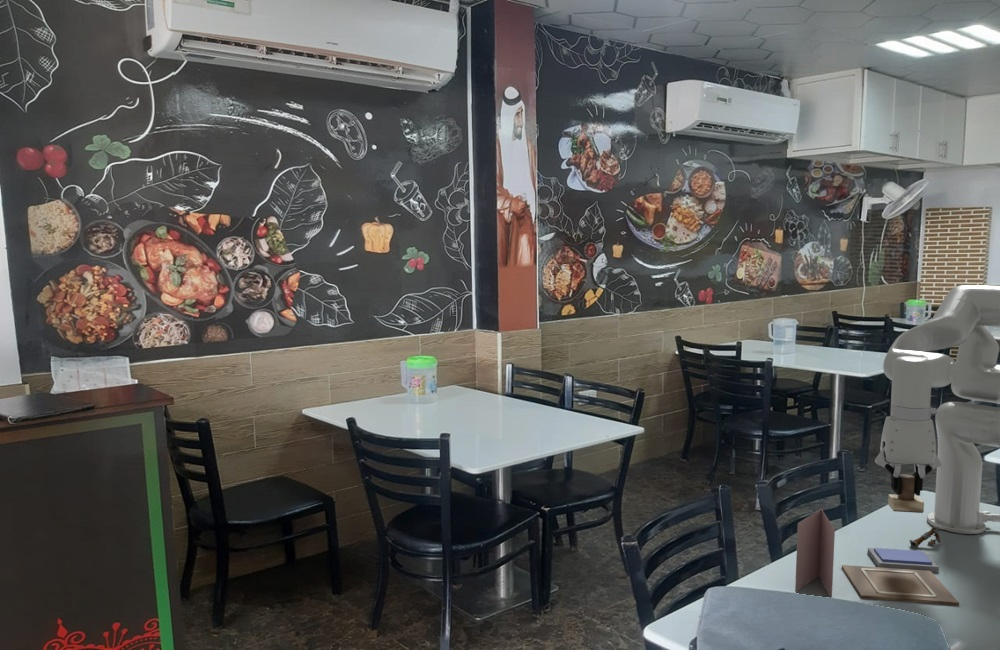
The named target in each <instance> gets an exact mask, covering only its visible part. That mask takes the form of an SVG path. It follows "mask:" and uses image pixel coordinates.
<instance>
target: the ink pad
mask: <svg viewBox="0 0 1000 650" xmlns="http://www.w3.org/2000/svg"><path fill="white" fill-rule="evenodd" d="M867 554H868V556H869V557H870V559H872V561H873V562H874V563H875V565H876V566H877V567H880V568H895V569H910V570H925V571H931V572H932V573H939V571H940V570H939V569H940V567H939V565H938V564H937V563H936V562H935V561H934V560H933V559H932V558H931V557H930V556H929V555H928V554H927V553H926V552H925V551H923V550H911V549H897V548H896V549H895V548H880V547H874V548H873V547H867Z"/></svg>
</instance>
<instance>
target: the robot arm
mask: <svg viewBox="0 0 1000 650" xmlns="http://www.w3.org/2000/svg"><path fill="white" fill-rule="evenodd" d="M986 327H996V328H997V327H998V328H1000V285H977V284H976V285H975V284H972V285H971V284H964V285H958V286H955V287H953V288H952V289H950V290H949V291H948V292H947V294H946V295H945V297H944V299H943V300H942V301H941V303H940V305H939V307H938V308H937V310H936V312H935V313H934V315H933V317H932V318H931V320H928V321H925V322H923V323H920V324H918V325H916V326H914V327H912V328H910V329H908V330H906V331H904V332H902V334H900V335H899V336H898V337H896V339H895V340H894V341H893V343H892V345H891V346H890V347H889V349H888V351H887V352H886V355H885V357H884V361H883V364H882V365H883V367H882V369H883V373H884V375H885V376H886V377H887V378H888V379H889V380H890V381H891V391H890V392H891V393H890V394H891V396H890V397H891V398H890V415H888V416H885V420H884V422H883V423H884V424H883V427H882V433H881V441H880V447H879V449H880V452H879V453H878V455H877V456H876V458H875V459H874V462H875V463H876V465H878V466H880V467H882V468H884V469H885V470H887V471H888V472H889V473H890V474H891V477H890V479H891V481H890V487H891V490H893V492H894V493H895V495H900V494H901V490H902V478H901V477H900V475H901V469H902V465H914V473H913V474H911V475H912V476H914V477H915V495H914V496H919V497H920V496H921V492H922V491H923V483H924V482H923V481H924V479H925V478H926V476H927V475H928V474H929V473H930V472H931V471H932V470H934V469H936V478H935V479H936V480H935V481H936V482H935V493H934V495H935V496H934V497H935V498H934V511H932V512H930V513H928V514H927V516H926V521H927V522H928V524H930V525H931V526H932V527H934V526H936V527H937V526H938V527H939V530H942V531H943V530H944V531H946V532H950V533H954V534H955V533H956V534H964V535H978V534H981V533H984V532H985V531H986V530H987V529H986V526H987V525H986V523H987V522H993V523H1000V514H999V513H991V512H990V511H988V510H983V511H982V509H980V505H981V490H982V488H981V487H982V475H983V458H982V455H981V454H980V451H979V450H978V448H977V447H976V445H984V446H989V447H994V448H1000V406H999V407H997V406H996V407H995V406H991V405H990V406H988V405H982V404H977V403H976V404H975V403H971V402H964V401H963V402H962V401H948V402H944V403H942V404H940V405H939V407H937V408H936V407H932V406H931V399H932V396H931V395H932V388H944V387H946V386H949V385H950V389H951V391H952V393H953V394H954V395H955V396H956V397H959V398H962V399H966V400H972V401H979V402H985V403H994V404H997V405H1000V364H997V361H998V357H999V352H1000V345H999V344H998V341H997V340H996V338H995V337H994V335H993V334H992V333H991V332H990V331H989V330H988V328H986ZM957 346H958V350H957V354H956V359H953V357H951V356H950V355H947V354H944V353H939V352H932V351H938V350H939V351H940V350H944V349H948V348H953V347H957ZM933 415H935V417H934V418H935V419H934V420H935V425H934V421H933V419H931V418H932V416H933ZM935 429H936V430H935ZM935 431H936V433H935ZM936 435H937V442H936ZM936 444H937V445H936ZM975 444H976V445H975ZM885 460H886V461H885Z"/></svg>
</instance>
